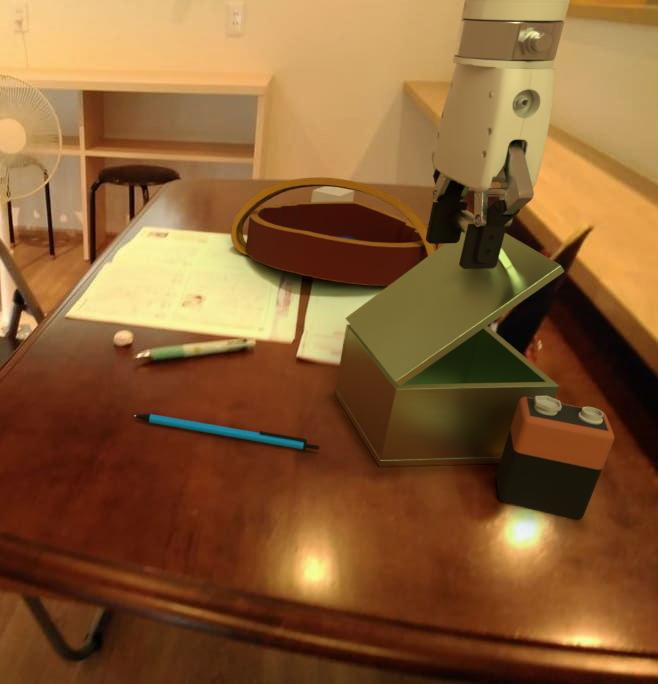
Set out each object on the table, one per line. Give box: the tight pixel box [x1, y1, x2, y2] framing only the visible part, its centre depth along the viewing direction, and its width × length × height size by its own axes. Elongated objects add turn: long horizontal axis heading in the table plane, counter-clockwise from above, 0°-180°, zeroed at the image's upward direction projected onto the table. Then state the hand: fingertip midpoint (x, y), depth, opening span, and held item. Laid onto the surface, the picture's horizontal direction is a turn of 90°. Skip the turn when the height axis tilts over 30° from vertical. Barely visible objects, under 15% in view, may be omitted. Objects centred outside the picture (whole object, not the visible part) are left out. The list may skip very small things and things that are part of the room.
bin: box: [334, 324, 560, 468], centre depth 71 cm, size 16×14×9 cm
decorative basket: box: [230, 176, 439, 287], centre depth 112 cm, size 34×29×15 cm
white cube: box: [310, 186, 355, 202], centre depth 138 cm, size 6×6×6 cm
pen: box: [133, 413, 320, 451], centre depth 70 cm, size 1×19×1 cm, turn 74°
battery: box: [495, 396, 615, 520], centre depth 60 cm, size 4×7×10 cm, turn 69°
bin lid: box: [345, 208, 565, 387], centre depth 65 cm, size 17×14×6 cm
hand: (459, 252), depth 64 cm, fingers closed on bin lid, 6 cm apart
